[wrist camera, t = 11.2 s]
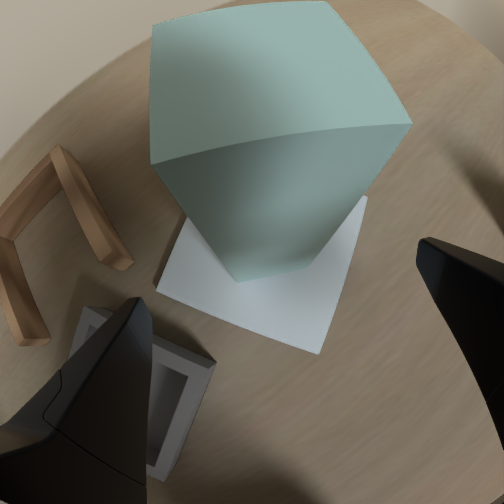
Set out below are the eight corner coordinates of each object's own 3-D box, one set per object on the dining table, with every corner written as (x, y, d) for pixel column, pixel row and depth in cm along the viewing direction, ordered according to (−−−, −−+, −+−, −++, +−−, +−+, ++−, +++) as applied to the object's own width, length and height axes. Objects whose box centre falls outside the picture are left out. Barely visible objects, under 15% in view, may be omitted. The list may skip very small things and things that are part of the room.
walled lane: (134, 261, 18) (112, 251, 15) (44, 345, 17) (17, 346, 14) (78, 162, 20) (58, 143, 17) (4, 240, 19) (-18, 230, 16)
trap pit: (175, 465, 14) (163, 482, 12) (75, 407, 15) (55, 415, 13) (216, 362, 16) (208, 369, 14) (105, 308, 17) (83, 305, 15)
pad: (316, 353, 16) (318, 354, 15) (159, 292, 17) (155, 290, 16) (365, 200, 18) (367, 197, 17) (221, 152, 19) (220, 147, 18)
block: (307, 268, 16) (413, 123, 4) (237, 283, 16) (150, 165, 4) (291, 203, 17) (326, 1, 5) (225, 216, 17) (152, 25, 5)
